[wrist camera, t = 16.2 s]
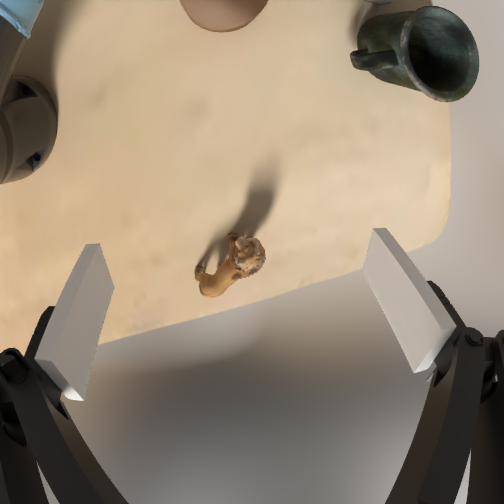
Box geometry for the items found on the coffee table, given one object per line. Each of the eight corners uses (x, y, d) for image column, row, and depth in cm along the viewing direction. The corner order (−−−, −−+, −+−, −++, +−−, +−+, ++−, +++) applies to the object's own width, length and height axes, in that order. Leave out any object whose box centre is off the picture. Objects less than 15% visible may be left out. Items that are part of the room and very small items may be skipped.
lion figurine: (238, 208, 43) (243, 244, 35) (268, 225, 45) (279, 263, 38) (187, 277, 49) (184, 318, 42) (215, 289, 51) (216, 331, 44)
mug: (428, 78, 33) (485, 95, 23) (343, 99, 35) (388, 118, 25) (410, 9, 26) (468, 6, 17) (317, 22, 28) (358, 11, 19)
